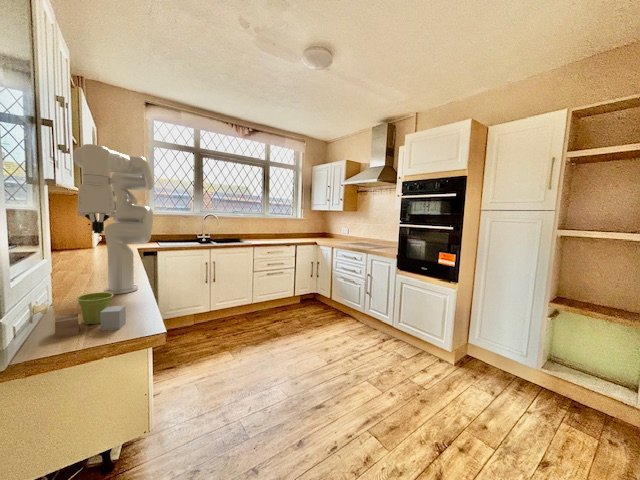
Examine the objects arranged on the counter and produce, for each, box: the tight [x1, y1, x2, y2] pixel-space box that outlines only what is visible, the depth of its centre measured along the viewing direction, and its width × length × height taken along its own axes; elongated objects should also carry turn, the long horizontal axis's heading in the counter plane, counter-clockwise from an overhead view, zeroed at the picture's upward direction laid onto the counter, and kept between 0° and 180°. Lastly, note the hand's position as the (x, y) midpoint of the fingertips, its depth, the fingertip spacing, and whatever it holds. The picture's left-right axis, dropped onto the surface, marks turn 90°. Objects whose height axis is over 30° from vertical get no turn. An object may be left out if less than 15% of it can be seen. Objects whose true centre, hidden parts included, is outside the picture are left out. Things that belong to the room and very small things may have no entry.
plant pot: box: [75, 291, 114, 325], centre depth 89 cm, size 9×9×9 cm
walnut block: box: [54, 313, 80, 339], centre depth 79 cm, size 5×5×5 cm
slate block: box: [100, 305, 127, 331], centre depth 85 cm, size 5×5×6 cm
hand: (98, 233), depth 95 cm, fingers closed
